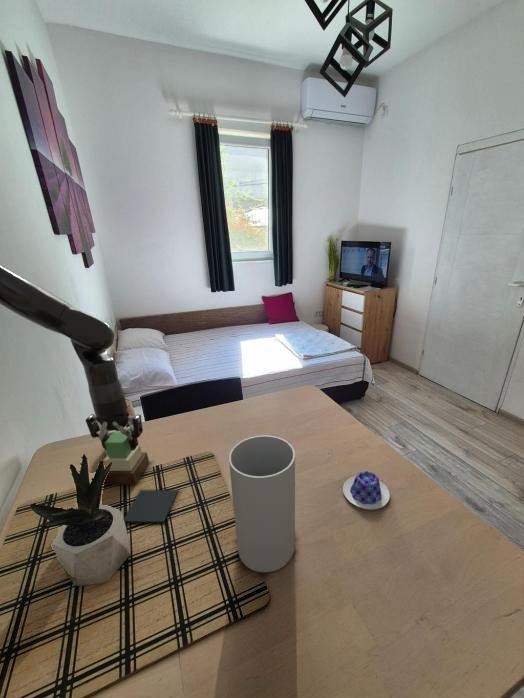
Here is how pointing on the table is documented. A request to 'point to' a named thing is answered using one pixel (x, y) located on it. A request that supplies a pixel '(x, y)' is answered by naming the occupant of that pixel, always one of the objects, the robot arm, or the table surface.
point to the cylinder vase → (264, 501)
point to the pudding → (366, 491)
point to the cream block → (124, 461)
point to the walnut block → (128, 473)
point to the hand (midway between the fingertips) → (121, 448)
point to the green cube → (118, 446)
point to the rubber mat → (151, 507)
